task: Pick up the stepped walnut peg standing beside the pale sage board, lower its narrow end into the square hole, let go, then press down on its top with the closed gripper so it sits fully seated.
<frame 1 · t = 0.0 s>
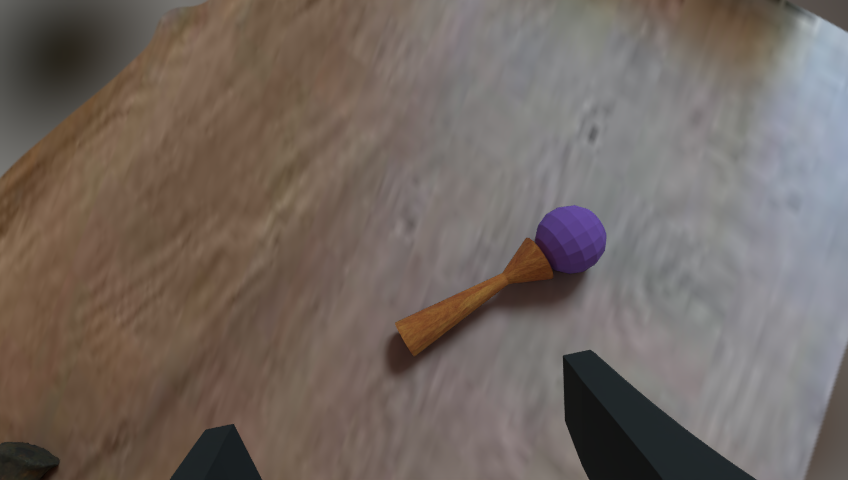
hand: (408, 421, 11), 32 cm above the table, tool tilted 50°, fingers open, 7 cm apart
kendama: (499, 288, 45), on the table
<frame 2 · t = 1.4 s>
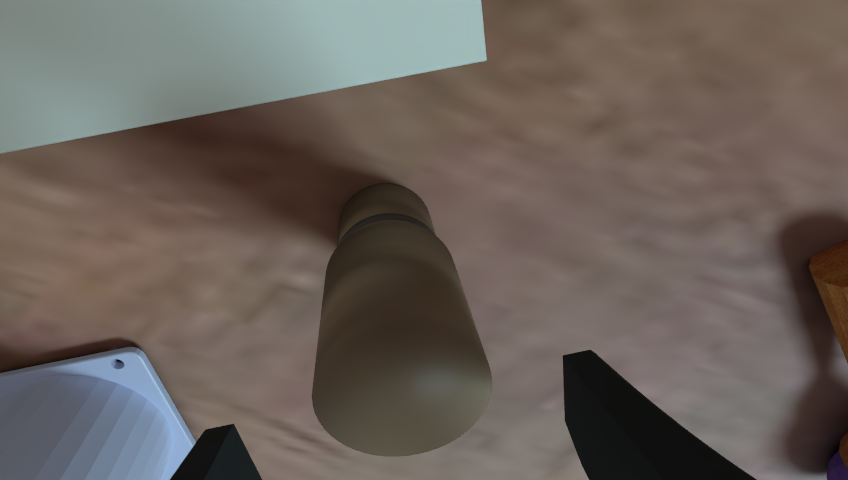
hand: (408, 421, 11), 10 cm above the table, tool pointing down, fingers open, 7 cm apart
walnut peg: (385, 226, 19), on the table
kendama: (837, 375, 27), on the table
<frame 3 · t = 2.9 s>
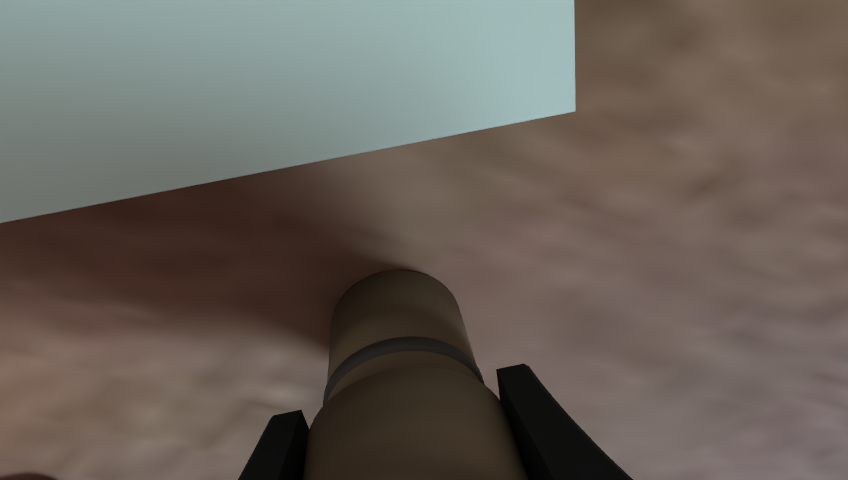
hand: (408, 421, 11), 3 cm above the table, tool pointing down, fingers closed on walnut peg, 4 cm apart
walnut peg: (397, 325, 14), on the table, touching gripper
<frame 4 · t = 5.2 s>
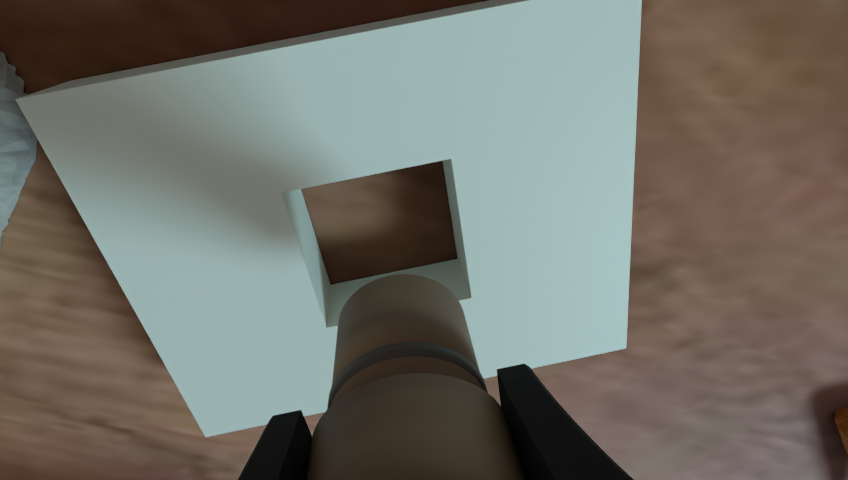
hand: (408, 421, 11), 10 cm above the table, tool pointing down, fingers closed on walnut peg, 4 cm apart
walnut peg: (402, 327, 14), point 7 cm above the table, touching gripper
sage board: (381, 214, 20), on the table
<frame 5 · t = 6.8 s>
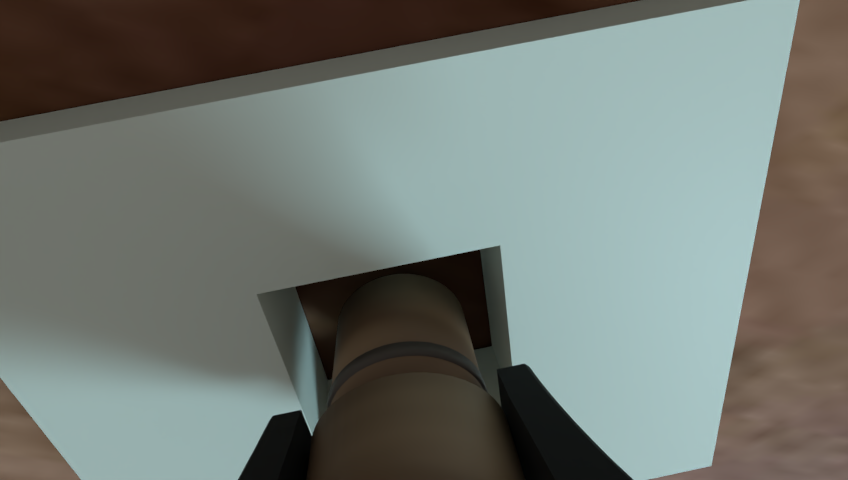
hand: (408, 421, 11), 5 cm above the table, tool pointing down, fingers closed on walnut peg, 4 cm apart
walnut peg: (401, 327, 14), point 1 cm above the table, touching gripper
sage board: (394, 295, 15), on the table
when the fingers open (5 cm above the table, at t = 7.4 s): walnut peg drops 1 cm, resting in sage board.
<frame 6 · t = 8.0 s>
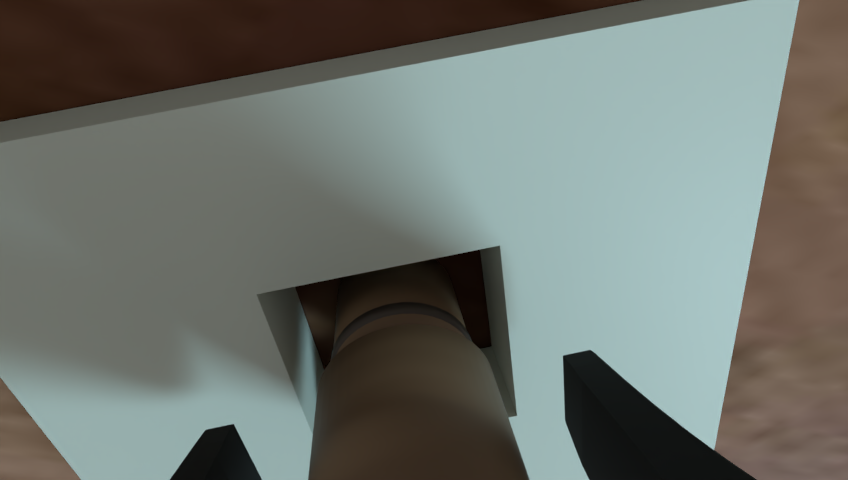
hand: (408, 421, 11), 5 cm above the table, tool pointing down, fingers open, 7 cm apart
walnut peg: (396, 299, 15), resting in sage board
sage board: (394, 295, 15), on the table
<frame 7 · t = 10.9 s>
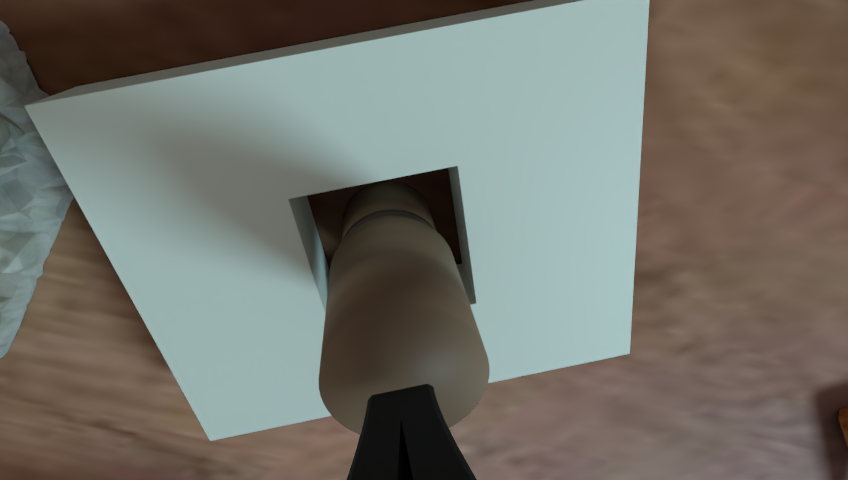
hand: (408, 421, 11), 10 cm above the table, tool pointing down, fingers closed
walnut peg: (387, 222, 20), resting in sage board
sage board: (386, 219, 20), on the table
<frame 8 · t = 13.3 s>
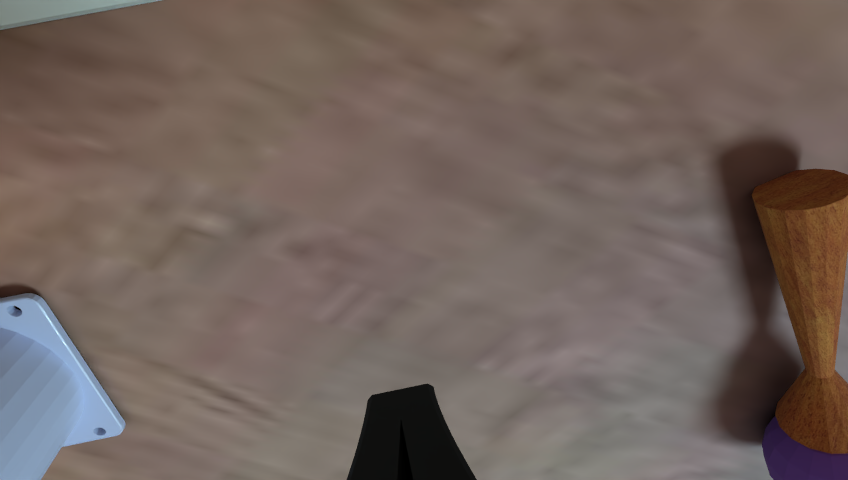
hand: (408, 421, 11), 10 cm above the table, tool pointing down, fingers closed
kendama: (779, 331, 26), on the table
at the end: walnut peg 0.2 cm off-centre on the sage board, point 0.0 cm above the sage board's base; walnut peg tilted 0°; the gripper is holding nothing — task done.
